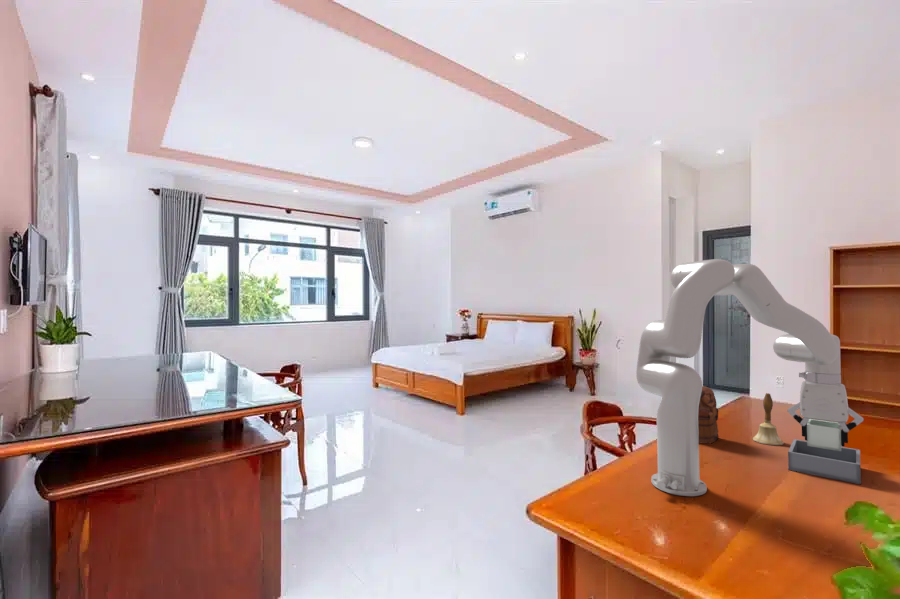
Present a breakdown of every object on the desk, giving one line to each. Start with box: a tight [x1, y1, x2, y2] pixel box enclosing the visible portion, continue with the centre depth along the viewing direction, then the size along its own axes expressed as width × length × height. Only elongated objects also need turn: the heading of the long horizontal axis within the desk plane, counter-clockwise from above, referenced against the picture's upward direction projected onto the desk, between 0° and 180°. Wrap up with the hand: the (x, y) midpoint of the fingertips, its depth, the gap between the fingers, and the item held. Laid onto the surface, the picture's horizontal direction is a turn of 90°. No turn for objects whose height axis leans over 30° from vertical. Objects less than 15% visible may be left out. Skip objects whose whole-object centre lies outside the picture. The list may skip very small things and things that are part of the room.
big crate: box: [787, 438, 862, 485], centre depth 121 cm, size 15×15×5 cm
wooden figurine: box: [698, 385, 720, 444], centre depth 147 cm, size 12×6×18 cm, turn 128°
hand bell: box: [752, 392, 785, 446], centre depth 144 cm, size 8×8×16 cm
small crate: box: [807, 419, 843, 451], centre depth 121 cm, size 7×7×6 cm
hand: (824, 441), depth 121 cm, fingers closed on small crate, 7 cm apart
